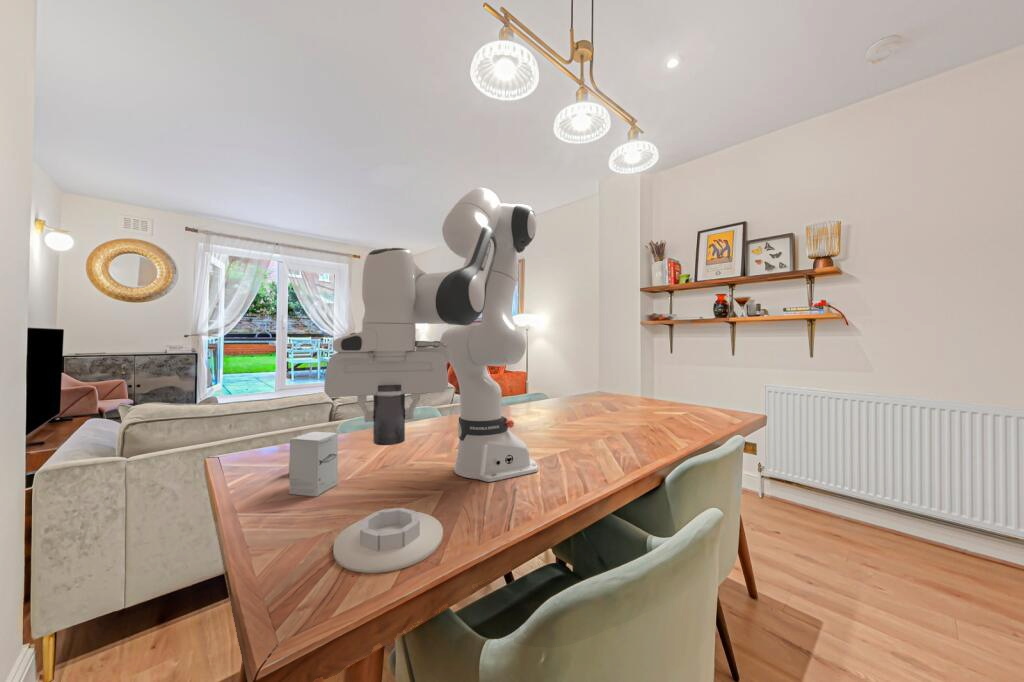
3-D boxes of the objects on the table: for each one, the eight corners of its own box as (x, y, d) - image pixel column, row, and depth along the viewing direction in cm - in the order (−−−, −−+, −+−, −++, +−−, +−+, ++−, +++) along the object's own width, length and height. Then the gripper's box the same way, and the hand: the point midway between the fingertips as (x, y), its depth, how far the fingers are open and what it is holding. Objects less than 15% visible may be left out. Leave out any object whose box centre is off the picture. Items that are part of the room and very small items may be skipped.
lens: (404, 435, 69) (404, 381, 69) (406, 443, 64) (406, 385, 64) (373, 438, 67) (373, 382, 67) (372, 446, 62) (372, 386, 62)
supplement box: (317, 497, 83) (317, 440, 83) (288, 494, 85) (288, 438, 85) (338, 484, 90) (338, 432, 90) (312, 482, 92) (312, 430, 92)
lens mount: (435, 510, 77) (435, 493, 77) (451, 559, 60) (451, 537, 60) (338, 524, 71) (339, 506, 71) (326, 583, 54) (326, 559, 54)
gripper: (446, 340, 72) (445, 412, 72) (327, 340, 65) (327, 420, 65) (452, 341, 66) (451, 419, 66) (322, 340, 59) (322, 428, 59)
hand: (389, 420), depth 66 cm, fingers closed on lens, 5 cm apart
